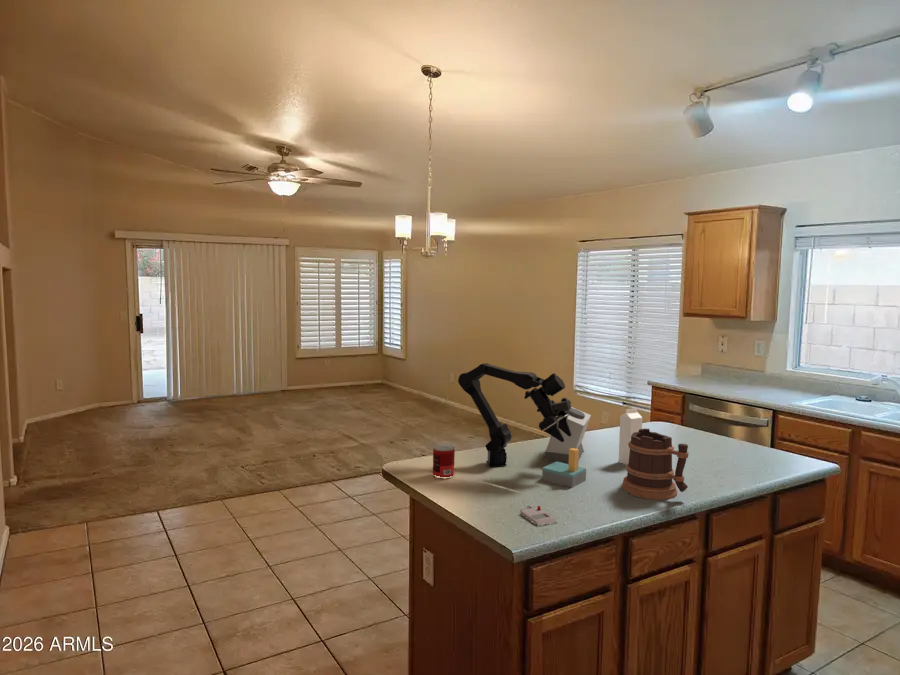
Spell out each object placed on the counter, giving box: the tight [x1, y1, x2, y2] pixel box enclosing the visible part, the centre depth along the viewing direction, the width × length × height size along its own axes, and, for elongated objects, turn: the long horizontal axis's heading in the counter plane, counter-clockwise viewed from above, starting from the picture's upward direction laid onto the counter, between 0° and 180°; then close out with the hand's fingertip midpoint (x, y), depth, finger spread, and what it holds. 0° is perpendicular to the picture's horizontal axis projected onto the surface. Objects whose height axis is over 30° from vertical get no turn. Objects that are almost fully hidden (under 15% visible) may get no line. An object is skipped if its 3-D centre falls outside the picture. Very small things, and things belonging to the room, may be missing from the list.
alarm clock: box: [542, 406, 592, 464], centre depth 236 cm, size 20×16×20 cm
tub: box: [541, 470, 587, 488], centre depth 205 cm, size 12×10×4 cm
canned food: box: [432, 443, 456, 477], centre depth 209 cm, size 8×8×11 cm
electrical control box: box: [520, 505, 558, 526], centre depth 173 cm, size 7×16×3 cm, turn 25°
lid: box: [541, 448, 587, 478], centre depth 204 cm, size 12×10×10 cm
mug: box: [621, 428, 690, 501], centre depth 196 cm, size 18×23×20 cm
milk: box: [617, 407, 643, 466], centre depth 227 cm, size 6×6×22 cm
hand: (567, 438), depth 210 cm, fingers open, 9 cm apart
